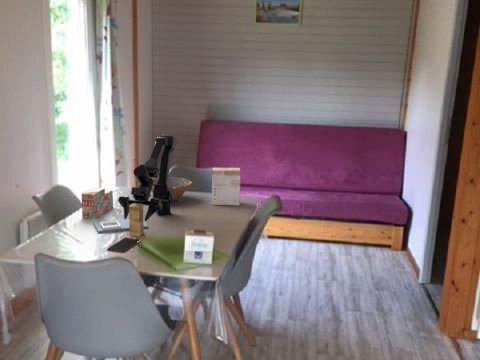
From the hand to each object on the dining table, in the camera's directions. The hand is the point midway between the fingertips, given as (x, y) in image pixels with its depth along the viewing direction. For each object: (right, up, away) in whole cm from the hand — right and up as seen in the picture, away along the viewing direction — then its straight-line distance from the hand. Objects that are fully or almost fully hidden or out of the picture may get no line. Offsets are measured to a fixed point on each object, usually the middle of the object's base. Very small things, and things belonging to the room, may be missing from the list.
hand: (135, 220), depth 206 cm
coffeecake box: (+37, +4, +57) cm, 68 cm away
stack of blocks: (-25, +1, +33) cm, 42 cm away
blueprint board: (-9, -4, +13) cm, 16 cm away
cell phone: (-2, -10, -12) cm, 15 cm away
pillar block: (0, -6, +3) cm, 7 cm away
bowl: (+5, +6, +62) cm, 63 cm away
